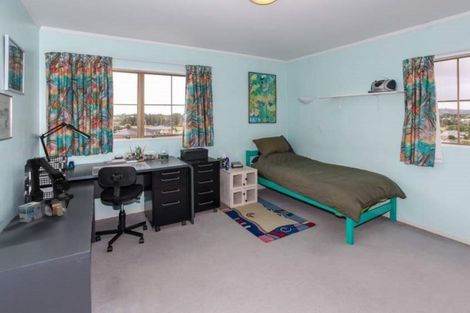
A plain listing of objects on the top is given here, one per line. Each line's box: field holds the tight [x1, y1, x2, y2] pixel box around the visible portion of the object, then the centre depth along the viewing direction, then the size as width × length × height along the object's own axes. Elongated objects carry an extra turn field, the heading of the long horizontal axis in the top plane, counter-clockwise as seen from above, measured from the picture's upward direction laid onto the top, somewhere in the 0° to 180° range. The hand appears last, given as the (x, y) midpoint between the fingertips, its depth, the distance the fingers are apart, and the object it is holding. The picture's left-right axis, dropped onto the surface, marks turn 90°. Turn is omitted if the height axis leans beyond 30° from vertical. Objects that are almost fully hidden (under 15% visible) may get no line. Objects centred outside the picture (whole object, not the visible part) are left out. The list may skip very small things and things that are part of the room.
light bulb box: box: [18, 201, 43, 223], centre depth 183 cm, size 11×7×11 cm, turn 168°
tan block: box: [44, 206, 67, 217], centre depth 195 cm, size 7×10×5 cm
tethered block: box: [49, 203, 64, 217], centre depth 193 cm, size 11×6×6 cm, turn 56°
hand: (59, 210), depth 191 cm, fingers open, 9 cm apart
